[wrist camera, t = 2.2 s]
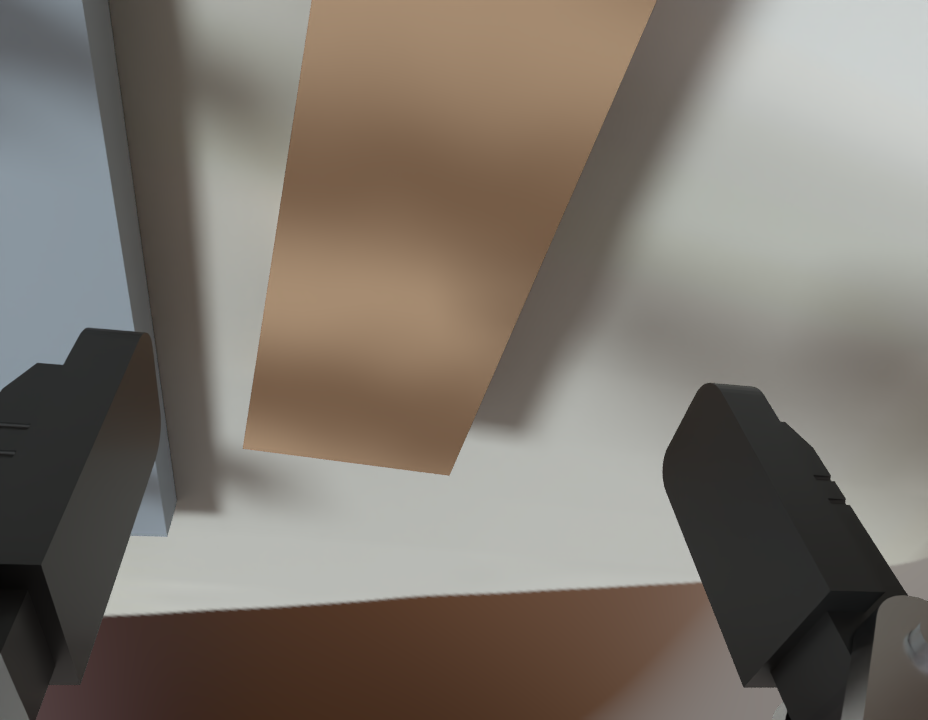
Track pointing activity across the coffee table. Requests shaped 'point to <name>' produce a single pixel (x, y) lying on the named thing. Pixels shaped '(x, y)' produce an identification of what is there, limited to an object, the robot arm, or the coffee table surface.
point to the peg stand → (69, 203)
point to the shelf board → (422, 213)
